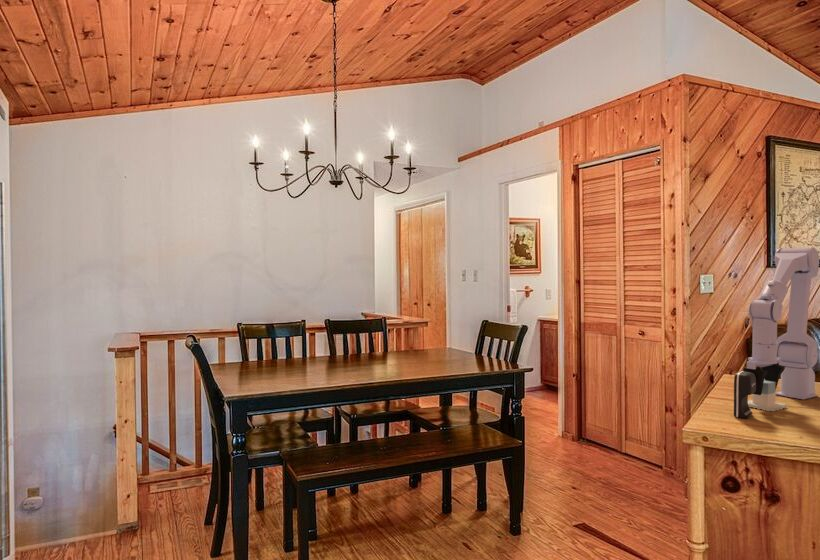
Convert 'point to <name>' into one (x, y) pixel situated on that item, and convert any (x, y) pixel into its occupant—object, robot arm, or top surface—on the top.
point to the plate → (767, 408)
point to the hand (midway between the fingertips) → (763, 392)
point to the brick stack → (766, 394)
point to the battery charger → (743, 393)
